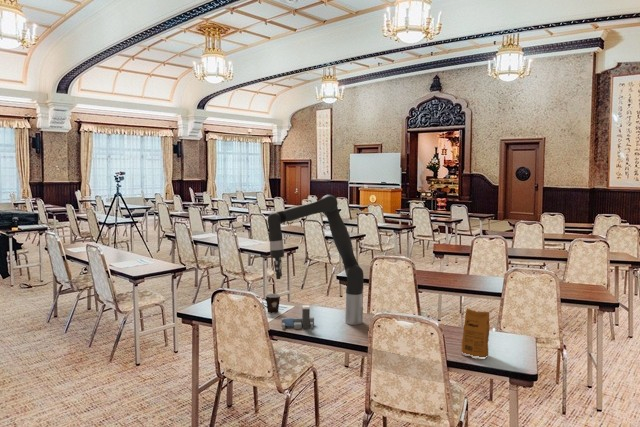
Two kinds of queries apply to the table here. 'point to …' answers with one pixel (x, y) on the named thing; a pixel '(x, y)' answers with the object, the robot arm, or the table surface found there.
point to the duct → (295, 322)
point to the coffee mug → (272, 302)
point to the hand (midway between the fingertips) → (279, 277)
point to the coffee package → (476, 333)
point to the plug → (305, 316)
